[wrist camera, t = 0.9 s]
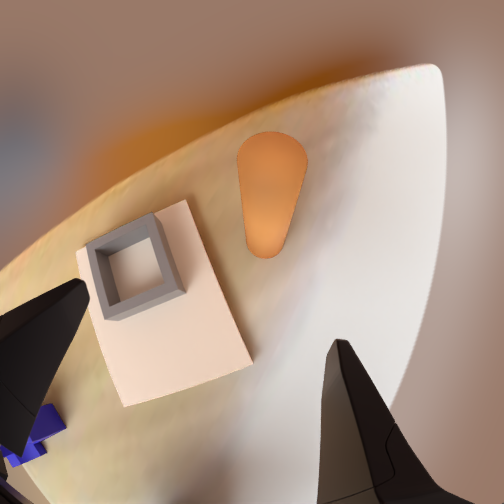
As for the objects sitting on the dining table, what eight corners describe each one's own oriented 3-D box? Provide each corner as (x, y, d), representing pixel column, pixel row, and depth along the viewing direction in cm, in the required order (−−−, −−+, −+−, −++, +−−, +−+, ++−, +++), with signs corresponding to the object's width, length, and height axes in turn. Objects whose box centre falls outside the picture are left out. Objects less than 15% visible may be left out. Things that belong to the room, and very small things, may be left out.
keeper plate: (253, 362, 22) (252, 368, 18) (128, 404, 21) (111, 414, 17) (187, 203, 25) (178, 186, 22) (80, 254, 24) (60, 244, 21)
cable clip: (26, 461, 18) (-3, 473, 12) (8, 430, 19) (-22, 438, 13) (75, 439, 20) (41, 456, 14) (53, 402, 21) (16, 412, 15)
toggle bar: (289, 249, 24) (320, 175, 12) (255, 264, 24) (254, 200, 12) (274, 217, 25) (288, 124, 13) (240, 230, 25) (226, 144, 13)
